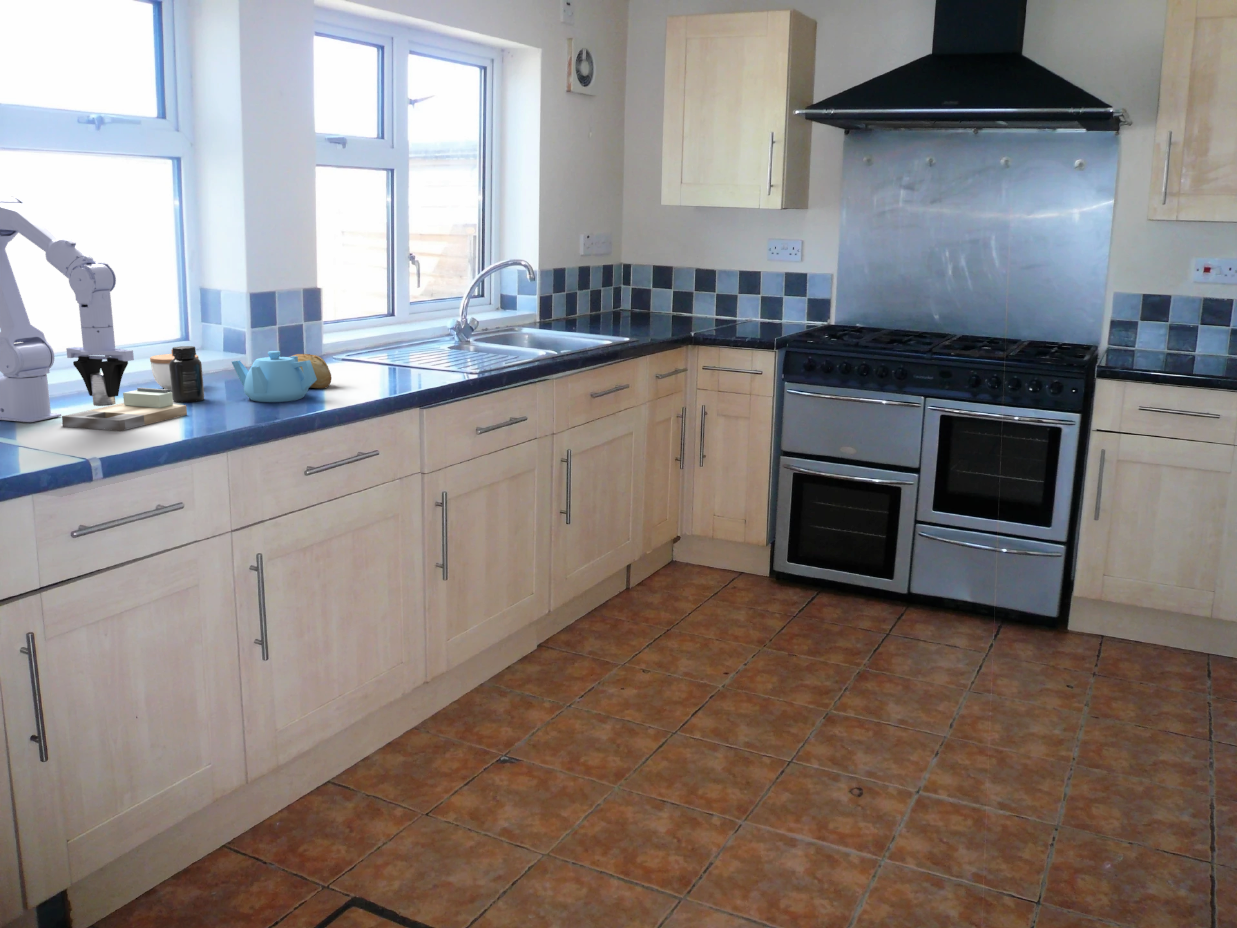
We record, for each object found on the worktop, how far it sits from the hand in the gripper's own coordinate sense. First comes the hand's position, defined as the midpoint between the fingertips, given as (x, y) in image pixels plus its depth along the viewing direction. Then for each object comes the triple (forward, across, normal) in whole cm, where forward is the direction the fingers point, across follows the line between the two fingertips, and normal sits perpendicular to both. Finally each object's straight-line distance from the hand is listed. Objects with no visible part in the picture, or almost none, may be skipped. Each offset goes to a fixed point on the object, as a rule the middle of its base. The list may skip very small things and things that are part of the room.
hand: (103, 395), depth 220 cm
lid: (+4, 0, +12) cm, 13 cm away
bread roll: (+6, +7, +57) cm, 58 cm away
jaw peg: (+2, 0, 0) cm, 2 cm away
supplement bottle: (+6, -5, +30) cm, 31 cm away
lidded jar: (+6, -19, +43) cm, 47 cm away
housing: (+6, 0, +6) cm, 8 cm away
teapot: (+6, +11, +40) cm, 42 cm away
